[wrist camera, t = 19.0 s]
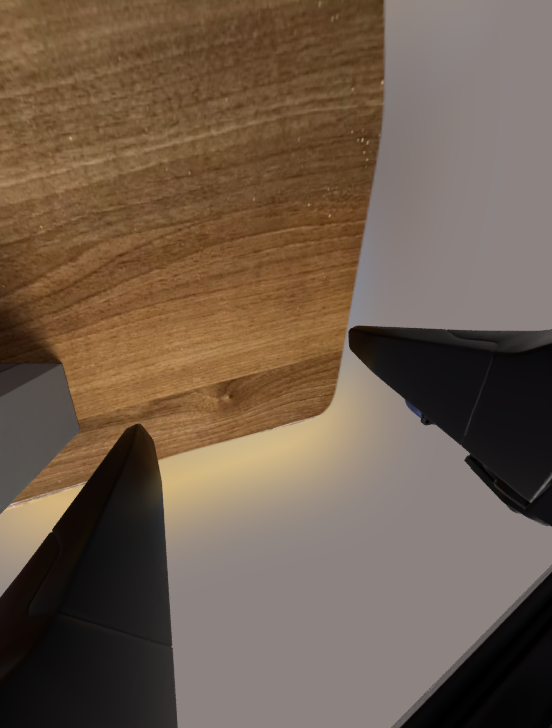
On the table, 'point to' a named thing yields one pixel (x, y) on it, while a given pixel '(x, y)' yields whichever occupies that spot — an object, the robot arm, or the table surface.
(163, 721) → the robot arm
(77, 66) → the table surface
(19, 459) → the grey books
